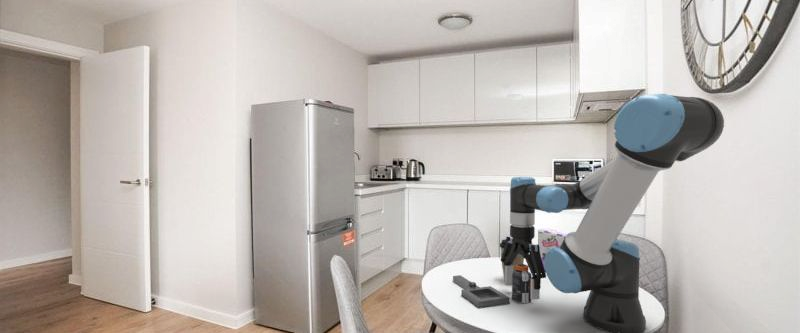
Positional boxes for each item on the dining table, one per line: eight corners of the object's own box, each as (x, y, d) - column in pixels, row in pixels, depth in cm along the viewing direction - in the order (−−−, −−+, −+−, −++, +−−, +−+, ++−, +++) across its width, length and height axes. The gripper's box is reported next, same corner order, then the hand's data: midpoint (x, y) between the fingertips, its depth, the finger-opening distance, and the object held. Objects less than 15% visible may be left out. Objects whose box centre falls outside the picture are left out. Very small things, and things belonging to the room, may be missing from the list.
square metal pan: (509, 303, 118) (509, 294, 118) (478, 308, 115) (478, 299, 115) (469, 279, 142) (469, 272, 142) (443, 282, 139) (443, 274, 138)
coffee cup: (496, 283, 137) (496, 242, 137) (502, 276, 146) (502, 237, 145) (523, 287, 133) (523, 245, 133) (528, 280, 141) (528, 240, 141)
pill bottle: (532, 304, 118) (532, 268, 118) (512, 302, 119) (513, 267, 119) (529, 297, 124) (530, 263, 124) (511, 296, 125) (511, 262, 125)
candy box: (536, 269, 156) (537, 229, 155) (547, 267, 158) (548, 228, 158) (564, 278, 143) (564, 235, 143) (575, 276, 146) (576, 234, 145)
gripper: (559, 231, 111) (558, 304, 111) (509, 218, 134) (508, 278, 135) (538, 233, 108) (537, 307, 109) (490, 219, 131) (490, 280, 132)
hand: (521, 291), depth 122 cm, fingers open, 12 cm apart
